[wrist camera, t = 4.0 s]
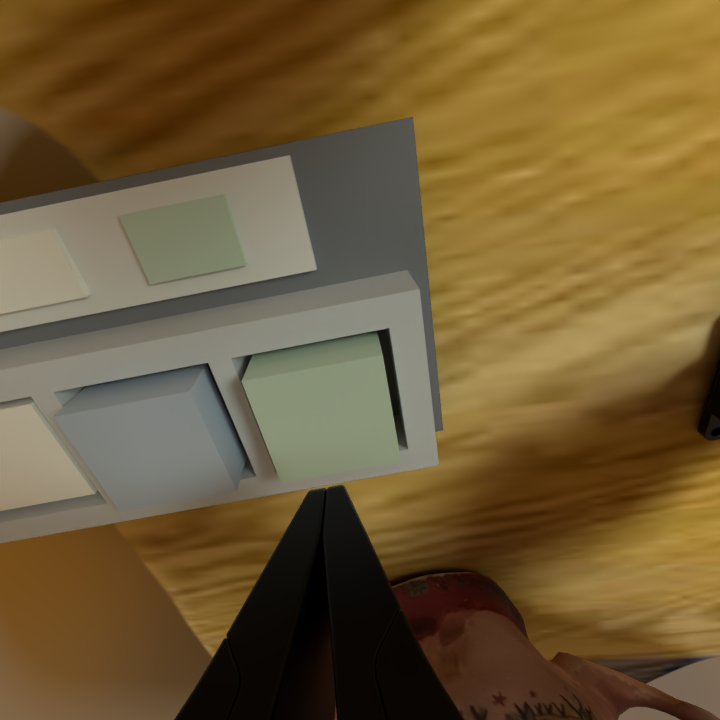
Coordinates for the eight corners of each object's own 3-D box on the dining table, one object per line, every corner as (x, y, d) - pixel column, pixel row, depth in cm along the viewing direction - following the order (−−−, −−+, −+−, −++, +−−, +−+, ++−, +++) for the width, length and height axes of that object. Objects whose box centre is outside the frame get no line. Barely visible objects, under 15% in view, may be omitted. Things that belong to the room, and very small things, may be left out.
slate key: (206, 364, 12) (189, 391, 11) (246, 457, 14) (236, 491, 13) (85, 386, 12) (52, 417, 11) (141, 476, 14) (120, 512, 13)
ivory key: (62, 377, 13) (30, 404, 12) (117, 462, 15) (95, 493, 14) (-47, 398, 13) (-92, 427, 12) (21, 480, 15) (-11, 512, 14)
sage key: (376, 331, 12) (382, 355, 10) (394, 430, 14) (401, 461, 12) (252, 355, 12) (241, 381, 11) (286, 450, 14) (281, 483, 13)
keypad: (406, 120, 11) (428, 109, 9) (437, 415, 16) (457, 465, 14) (-196, 245, 12) (-348, 270, 9) (17, 492, 17) (-40, 553, 14)
